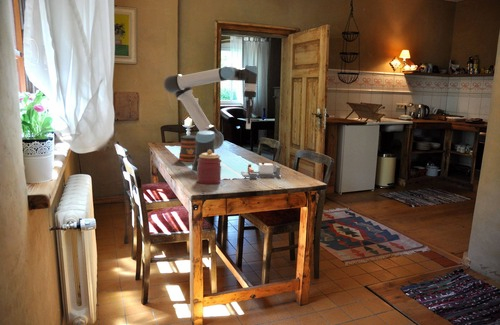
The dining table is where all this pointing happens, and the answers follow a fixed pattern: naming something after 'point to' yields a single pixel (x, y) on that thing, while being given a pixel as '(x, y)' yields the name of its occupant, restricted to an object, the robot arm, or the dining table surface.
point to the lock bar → (250, 169)
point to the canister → (209, 168)
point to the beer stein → (188, 148)
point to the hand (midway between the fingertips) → (248, 128)
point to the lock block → (265, 169)
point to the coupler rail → (254, 175)
